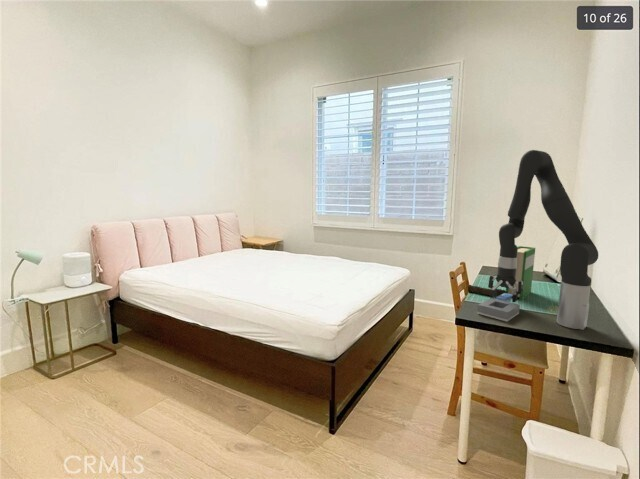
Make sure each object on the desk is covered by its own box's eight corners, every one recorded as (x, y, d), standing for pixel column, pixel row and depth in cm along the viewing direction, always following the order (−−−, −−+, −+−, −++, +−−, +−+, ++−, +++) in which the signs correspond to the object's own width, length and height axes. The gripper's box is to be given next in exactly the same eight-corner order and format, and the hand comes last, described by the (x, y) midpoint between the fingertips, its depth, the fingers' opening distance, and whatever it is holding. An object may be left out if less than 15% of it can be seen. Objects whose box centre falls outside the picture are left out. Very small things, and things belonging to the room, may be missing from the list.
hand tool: (466, 292, 175) (467, 284, 174) (469, 290, 178) (470, 282, 177) (505, 301, 162) (506, 292, 161) (508, 299, 164) (509, 290, 164)
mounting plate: (518, 313, 144) (519, 304, 144) (507, 321, 135) (507, 312, 134) (490, 306, 153) (490, 298, 153) (477, 313, 144) (477, 304, 143)
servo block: (511, 303, 158) (512, 293, 157) (503, 307, 152) (504, 297, 151) (503, 301, 161) (504, 291, 160) (495, 305, 154) (496, 295, 154)
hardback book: (521, 299, 163) (526, 251, 160) (505, 296, 168) (509, 249, 165) (530, 292, 176) (535, 247, 172) (515, 289, 181) (519, 246, 177)
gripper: (527, 267, 151) (523, 301, 153) (494, 262, 161) (491, 294, 164) (521, 270, 146) (517, 305, 148) (487, 264, 156) (485, 297, 159)
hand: (504, 299), depth 156 cm, fingers open, 8 cm apart
